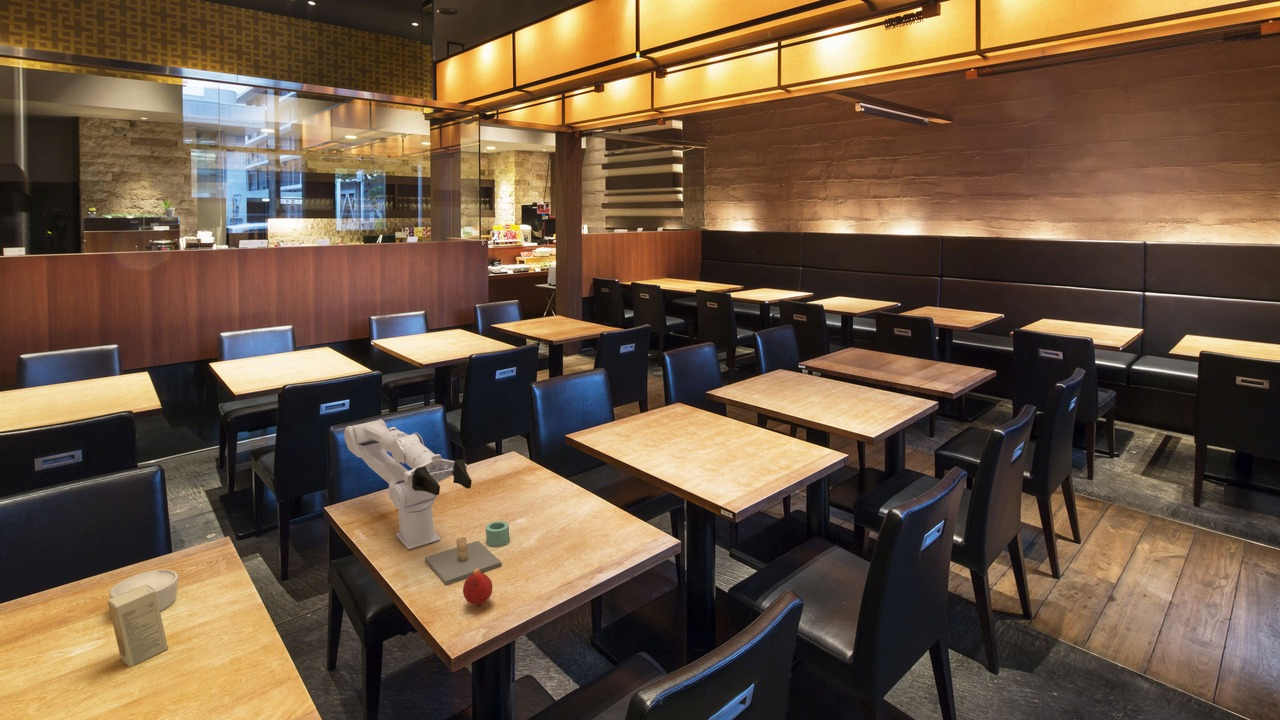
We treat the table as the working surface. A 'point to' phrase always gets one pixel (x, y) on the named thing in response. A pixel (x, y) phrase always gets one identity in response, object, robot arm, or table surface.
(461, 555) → the beech post
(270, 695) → the table surface
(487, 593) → the onion
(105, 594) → the table surface
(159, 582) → the ramekin
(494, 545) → the green ring
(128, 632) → the skincare box
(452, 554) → the grey board
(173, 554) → the table surface
